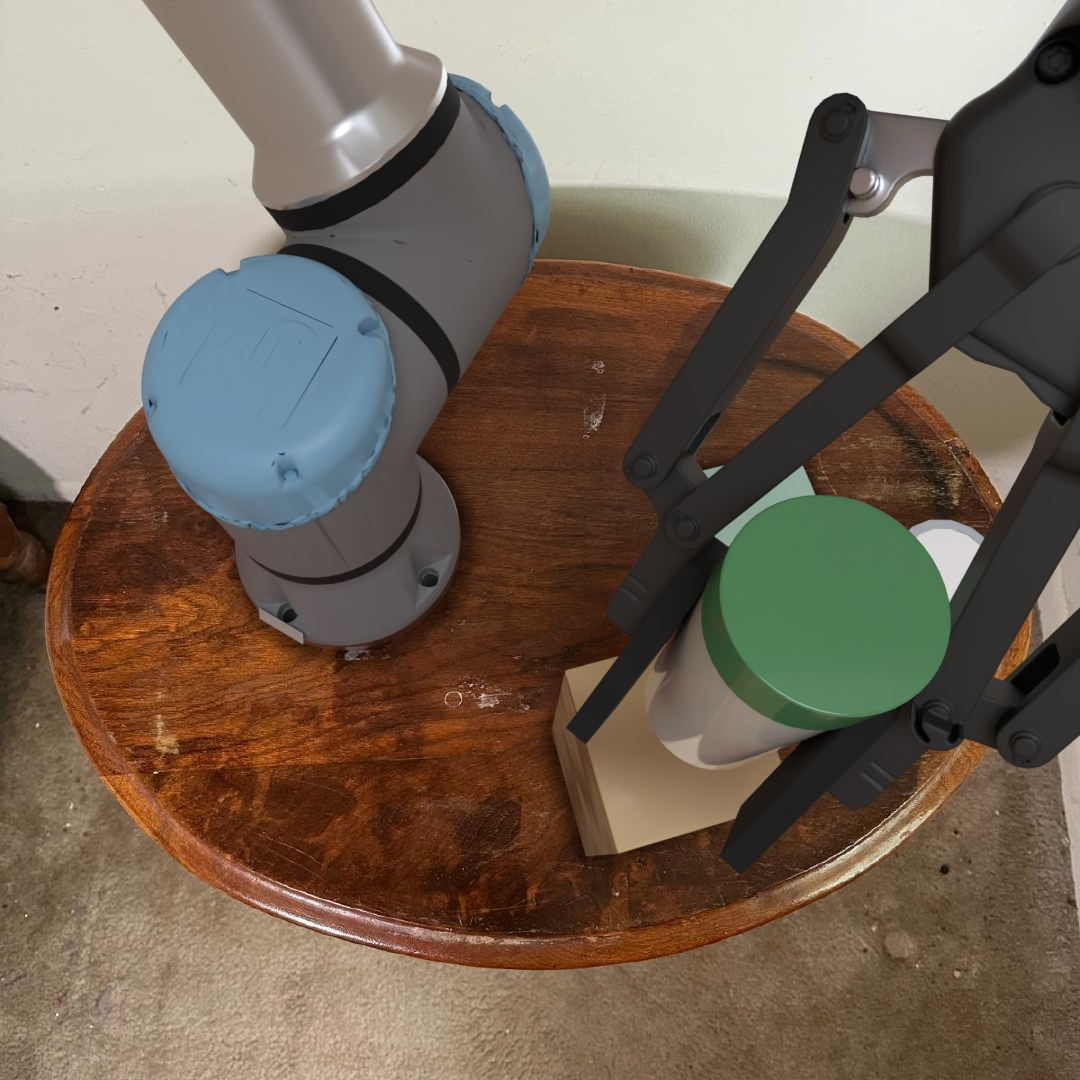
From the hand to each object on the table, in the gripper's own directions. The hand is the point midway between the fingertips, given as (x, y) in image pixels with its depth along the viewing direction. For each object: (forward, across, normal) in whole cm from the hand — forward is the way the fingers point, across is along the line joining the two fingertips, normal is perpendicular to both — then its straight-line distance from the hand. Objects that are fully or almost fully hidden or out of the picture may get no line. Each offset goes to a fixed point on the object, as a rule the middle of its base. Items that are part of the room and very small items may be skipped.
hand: (666, 774), depth 25 cm
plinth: (+18, 0, -23) cm, 29 cm away
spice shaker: (0, 0, -5) cm, 5 cm away
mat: (+4, +3, -37) cm, 37 cm away
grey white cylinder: (+3, -8, -39) cm, 40 cm away
